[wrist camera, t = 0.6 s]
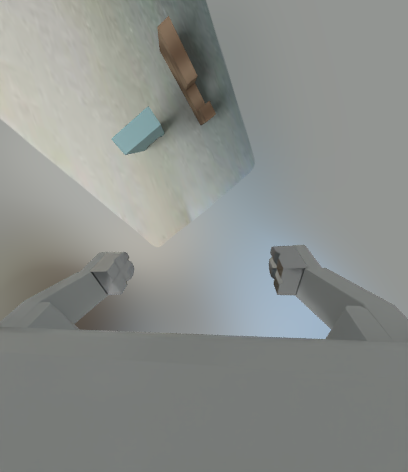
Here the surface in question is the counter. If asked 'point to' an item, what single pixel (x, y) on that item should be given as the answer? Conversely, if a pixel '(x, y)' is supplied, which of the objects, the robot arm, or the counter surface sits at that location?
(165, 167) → the counter surface
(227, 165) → the counter surface
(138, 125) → the teal plate
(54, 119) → the counter surface
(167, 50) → the notched walnut block
